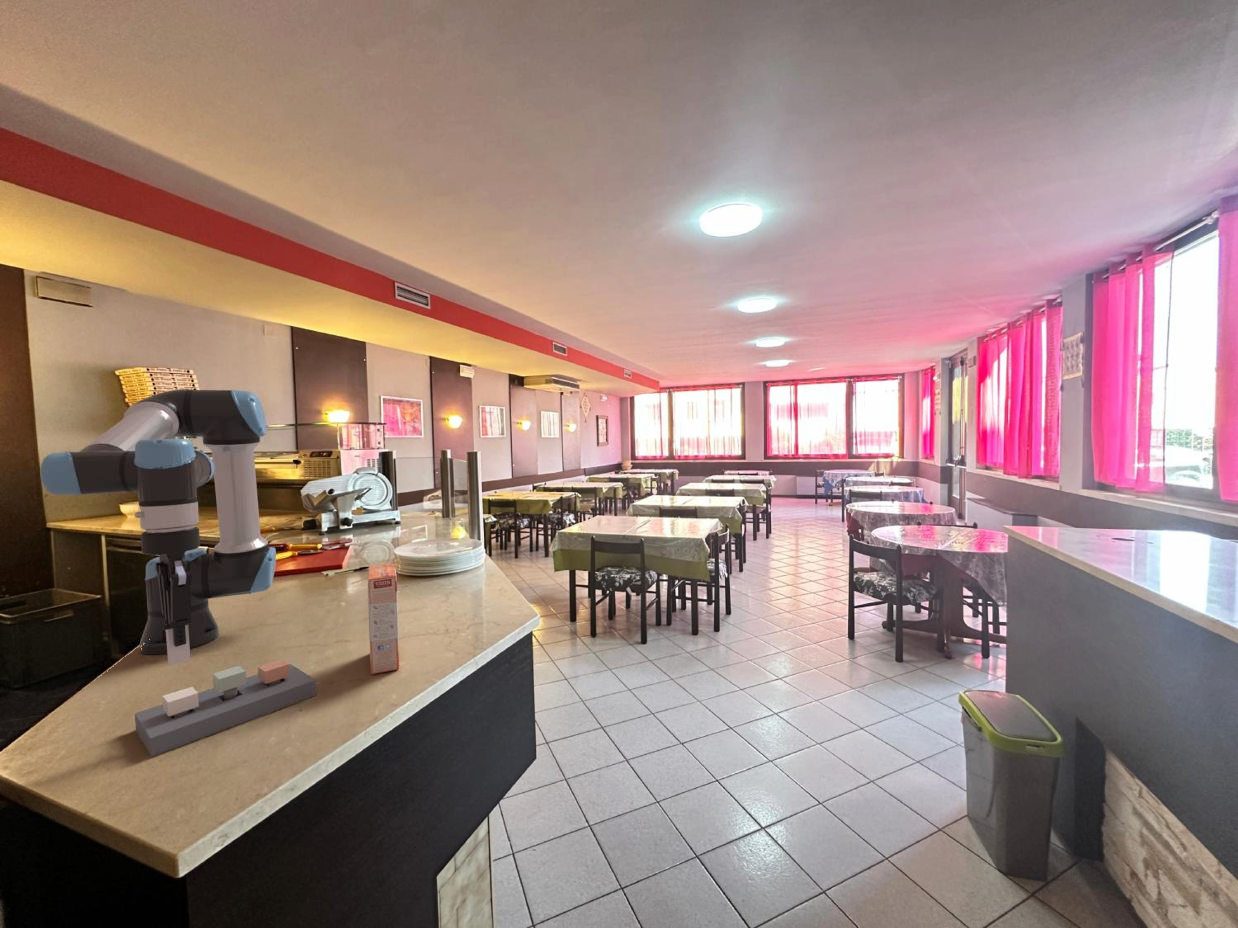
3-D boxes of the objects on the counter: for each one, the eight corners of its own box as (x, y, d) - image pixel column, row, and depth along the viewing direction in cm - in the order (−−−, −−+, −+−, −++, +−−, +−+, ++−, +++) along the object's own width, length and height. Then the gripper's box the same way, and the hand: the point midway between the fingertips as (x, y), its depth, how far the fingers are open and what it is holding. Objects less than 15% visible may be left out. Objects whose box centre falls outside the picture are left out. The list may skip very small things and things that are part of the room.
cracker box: (401, 670, 108) (397, 574, 108) (370, 676, 106) (365, 578, 105) (399, 647, 121) (395, 562, 120) (371, 652, 118) (367, 565, 118)
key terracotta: (259, 692, 98) (257, 666, 98) (282, 684, 101) (281, 659, 101) (266, 698, 95) (265, 671, 95) (290, 690, 98) (288, 663, 98)
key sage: (214, 701, 92) (212, 673, 92) (240, 692, 95) (238, 665, 95) (220, 708, 90) (219, 679, 90) (247, 698, 93) (245, 670, 93)
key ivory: (164, 725, 87) (162, 695, 87) (193, 715, 90) (192, 686, 90) (169, 733, 84) (167, 702, 84) (199, 722, 87) (198, 692, 87)
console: (135, 729, 87) (134, 713, 87) (291, 677, 106) (290, 663, 106) (151, 756, 79) (150, 738, 79) (316, 694, 98) (315, 679, 98)
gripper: (133, 528, 87) (142, 659, 88) (148, 536, 79) (158, 680, 80) (188, 521, 93) (196, 645, 94) (208, 528, 85) (217, 663, 86)
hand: (179, 661), depth 87 cm, fingers closed
